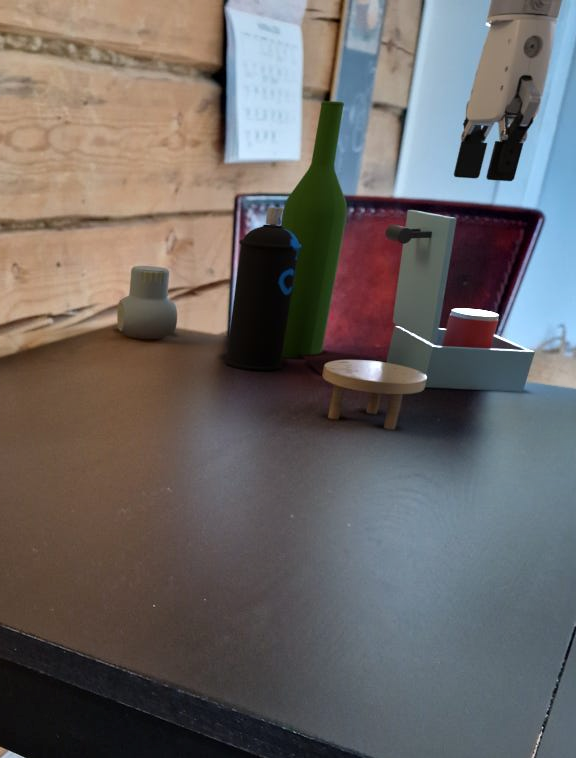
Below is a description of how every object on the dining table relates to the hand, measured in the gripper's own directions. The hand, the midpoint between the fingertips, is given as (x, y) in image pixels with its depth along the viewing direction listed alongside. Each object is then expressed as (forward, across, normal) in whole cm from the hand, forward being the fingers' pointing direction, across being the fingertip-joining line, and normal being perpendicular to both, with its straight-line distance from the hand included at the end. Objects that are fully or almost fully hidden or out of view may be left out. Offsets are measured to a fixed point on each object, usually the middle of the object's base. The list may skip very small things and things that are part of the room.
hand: (482, 179), depth 106 cm
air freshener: (+25, +22, +38) cm, 51 cm away
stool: (+25, -24, +17) cm, 39 cm away
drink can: (+24, 0, -4) cm, 24 cm away
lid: (+11, +1, +4) cm, 12 cm away
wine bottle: (+25, +15, +16) cm, 33 cm away
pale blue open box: (+25, 0, -3) cm, 25 cm away
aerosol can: (+25, +5, +24) cm, 35 cm away
